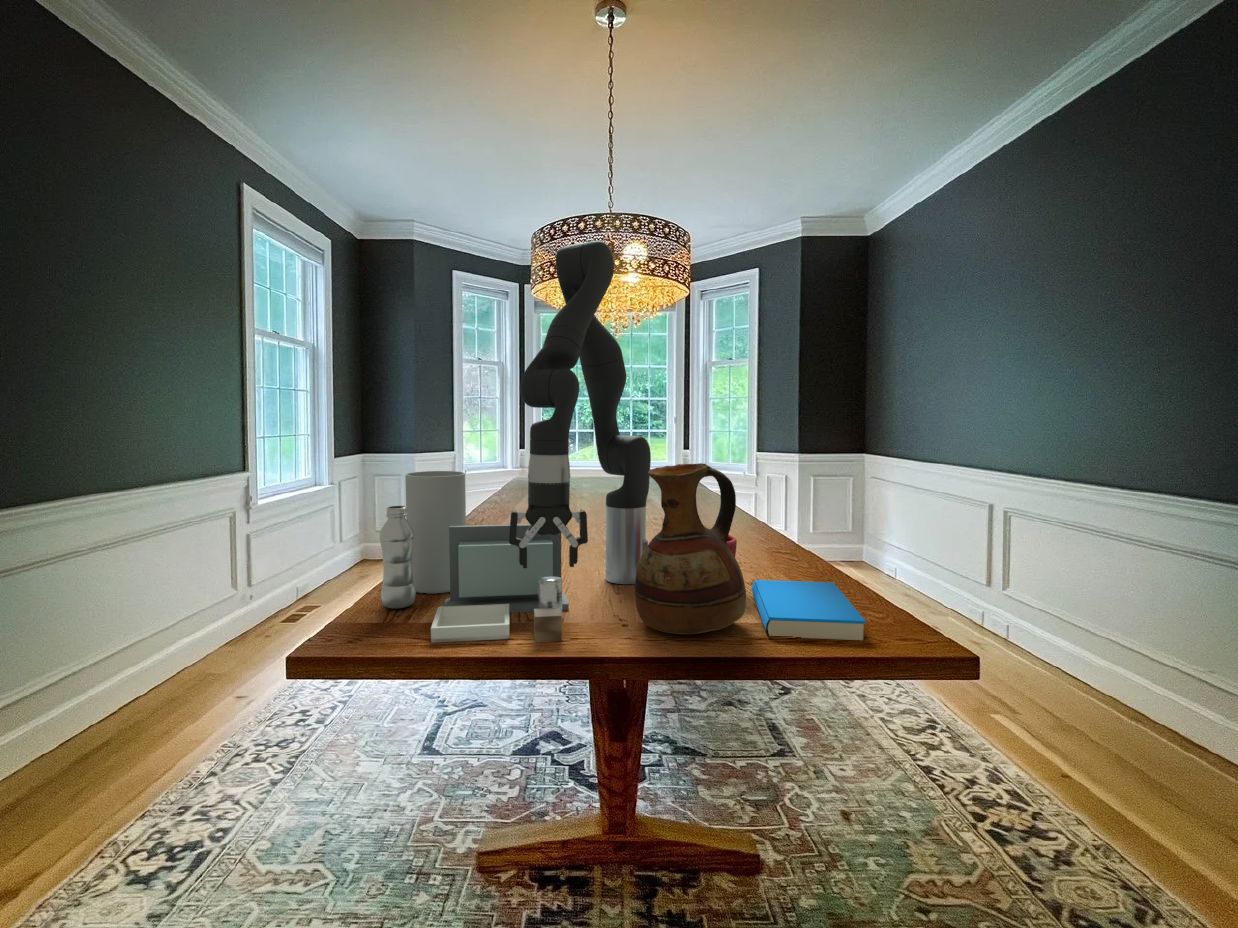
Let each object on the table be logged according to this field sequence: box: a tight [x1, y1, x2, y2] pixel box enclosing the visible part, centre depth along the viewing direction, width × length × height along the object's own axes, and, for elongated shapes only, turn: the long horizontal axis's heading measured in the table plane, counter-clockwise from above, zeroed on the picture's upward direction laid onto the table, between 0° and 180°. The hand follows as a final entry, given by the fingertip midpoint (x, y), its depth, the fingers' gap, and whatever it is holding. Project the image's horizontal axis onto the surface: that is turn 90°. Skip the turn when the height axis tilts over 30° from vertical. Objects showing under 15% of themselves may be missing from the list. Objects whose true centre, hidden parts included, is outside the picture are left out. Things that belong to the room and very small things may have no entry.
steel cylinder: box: [538, 576, 563, 617], centre depth 121 cm, size 4×4×8 cm
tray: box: [430, 604, 510, 644], centre depth 117 cm, size 13×12×2 cm
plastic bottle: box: [379, 505, 417, 609], centre depth 129 cm, size 6×7×20 cm
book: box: [751, 579, 867, 641], centre depth 126 cm, size 17×4×25 cm
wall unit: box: [442, 523, 570, 613], centre depth 130 cm, size 24×7×16 cm, turn 100°
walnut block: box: [533, 608, 563, 643], centre depth 113 cm, size 4×4×4 cm
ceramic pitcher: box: [634, 462, 747, 635], centre depth 119 cm, size 20×20×30 cm
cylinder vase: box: [404, 470, 467, 595], centre depth 143 cm, size 12×12×25 cm
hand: (548, 566), depth 121 cm, fingers open, 8 cm apart
